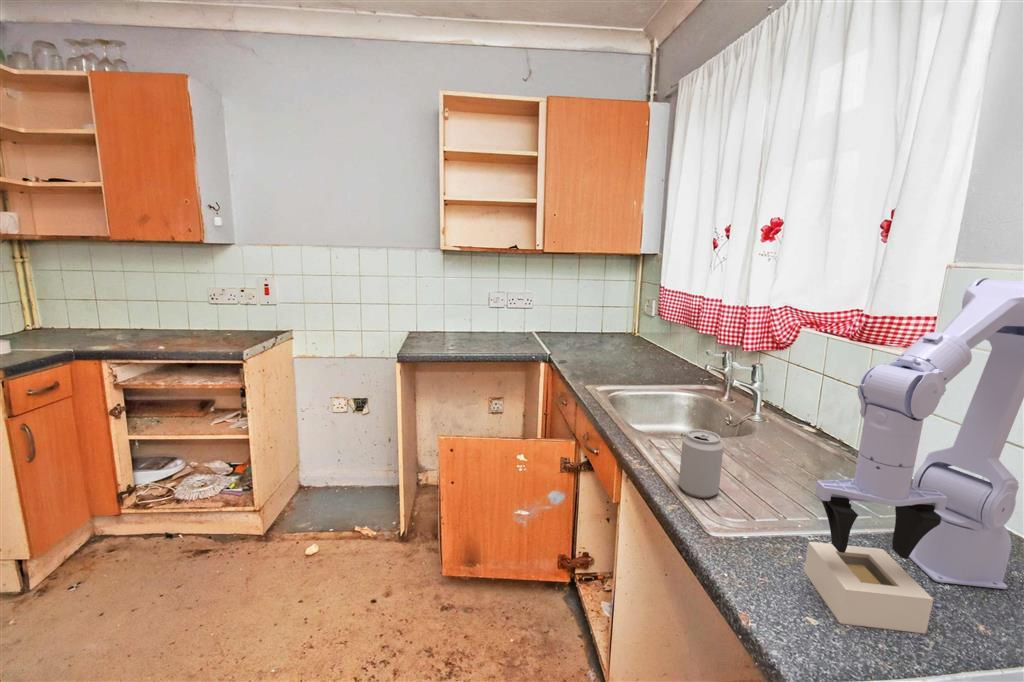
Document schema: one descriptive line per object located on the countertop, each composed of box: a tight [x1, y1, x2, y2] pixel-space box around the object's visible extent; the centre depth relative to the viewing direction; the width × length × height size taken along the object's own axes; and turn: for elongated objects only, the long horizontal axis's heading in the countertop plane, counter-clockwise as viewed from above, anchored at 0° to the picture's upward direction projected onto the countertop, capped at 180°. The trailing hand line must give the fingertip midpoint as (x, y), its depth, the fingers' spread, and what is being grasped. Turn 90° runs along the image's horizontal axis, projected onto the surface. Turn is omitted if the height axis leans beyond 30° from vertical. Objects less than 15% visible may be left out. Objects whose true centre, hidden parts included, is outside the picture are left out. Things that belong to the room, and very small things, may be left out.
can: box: [678, 428, 725, 499], centre depth 92 cm, size 8×8×12 cm
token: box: [846, 564, 882, 585], centre depth 64 cm, size 2×4×4 cm, turn 174°
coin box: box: [803, 541, 934, 634], centre depth 64 cm, size 10×10×5 cm
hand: (868, 550), depth 63 cm, fingers open, 7 cm apart
